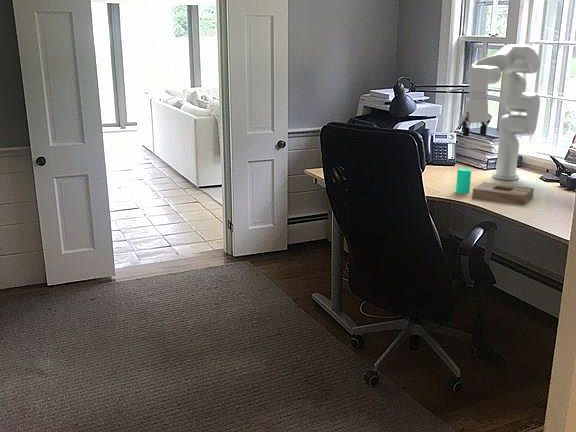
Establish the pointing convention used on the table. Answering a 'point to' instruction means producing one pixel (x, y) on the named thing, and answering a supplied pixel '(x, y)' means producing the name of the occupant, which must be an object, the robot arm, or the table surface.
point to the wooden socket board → (503, 193)
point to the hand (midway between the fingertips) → (474, 135)
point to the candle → (463, 180)
